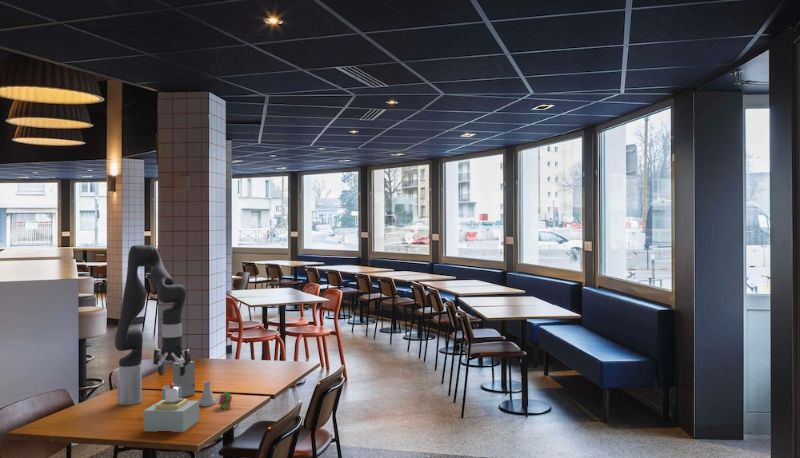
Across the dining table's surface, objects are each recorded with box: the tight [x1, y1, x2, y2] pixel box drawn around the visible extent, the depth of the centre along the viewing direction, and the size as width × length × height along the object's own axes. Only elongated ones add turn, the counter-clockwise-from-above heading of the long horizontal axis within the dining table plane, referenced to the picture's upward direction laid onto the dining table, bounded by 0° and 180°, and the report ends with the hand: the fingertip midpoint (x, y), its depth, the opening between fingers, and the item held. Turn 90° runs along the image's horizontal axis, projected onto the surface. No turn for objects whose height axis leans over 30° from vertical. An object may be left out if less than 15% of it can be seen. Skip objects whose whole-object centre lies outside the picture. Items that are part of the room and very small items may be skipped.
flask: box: [199, 380, 217, 407], centre depth 259 cm, size 7×7×10 cm
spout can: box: [165, 382, 179, 405], centre depth 231 cm, size 5×5×10 cm
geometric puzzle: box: [215, 391, 234, 409], centre depth 255 cm, size 7×7×8 cm
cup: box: [161, 384, 182, 400], centre depth 251 cm, size 8×8×10 cm
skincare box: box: [172, 360, 196, 399], centre depth 274 cm, size 8×7×16 cm
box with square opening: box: [143, 398, 200, 433], centre depth 231 cm, size 16×14×10 cm
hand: (172, 375), depth 231 cm, fingers open, 8 cm apart
